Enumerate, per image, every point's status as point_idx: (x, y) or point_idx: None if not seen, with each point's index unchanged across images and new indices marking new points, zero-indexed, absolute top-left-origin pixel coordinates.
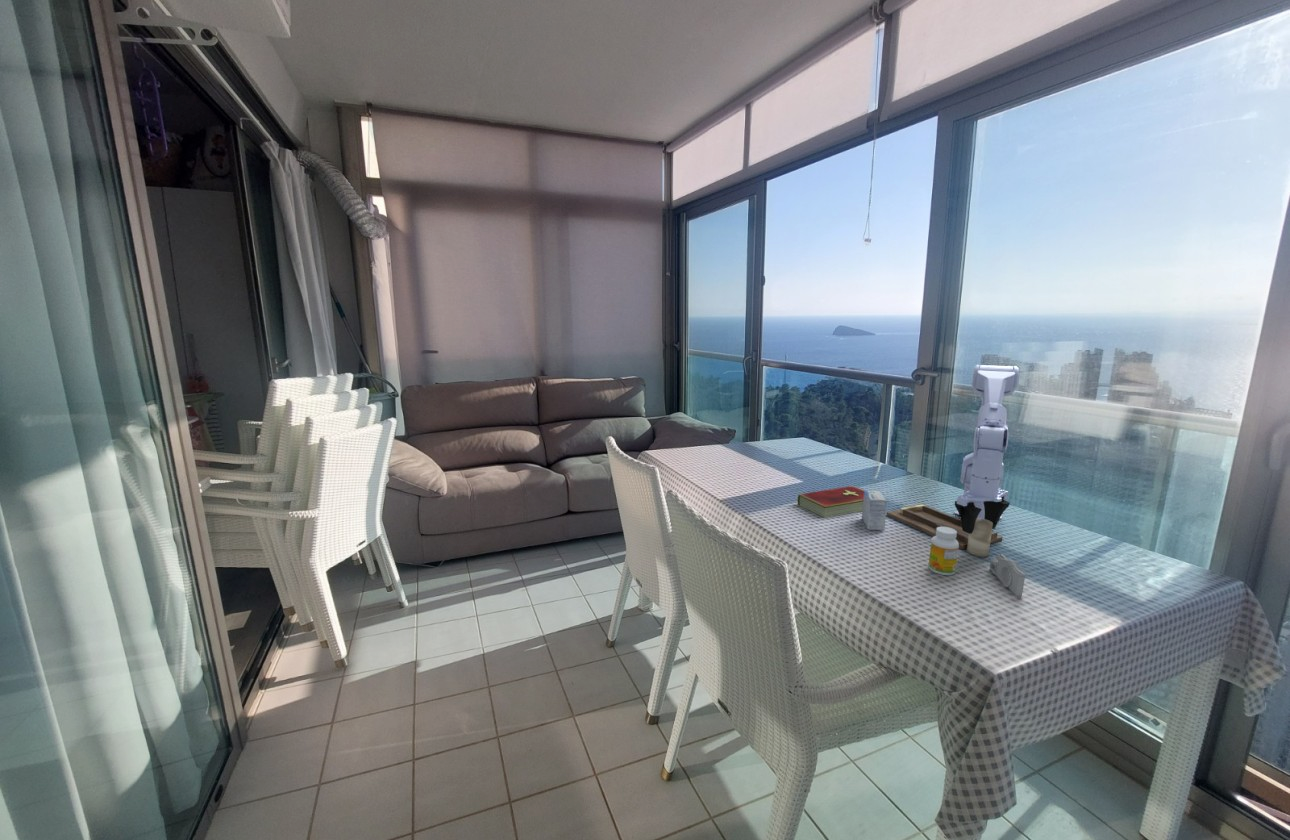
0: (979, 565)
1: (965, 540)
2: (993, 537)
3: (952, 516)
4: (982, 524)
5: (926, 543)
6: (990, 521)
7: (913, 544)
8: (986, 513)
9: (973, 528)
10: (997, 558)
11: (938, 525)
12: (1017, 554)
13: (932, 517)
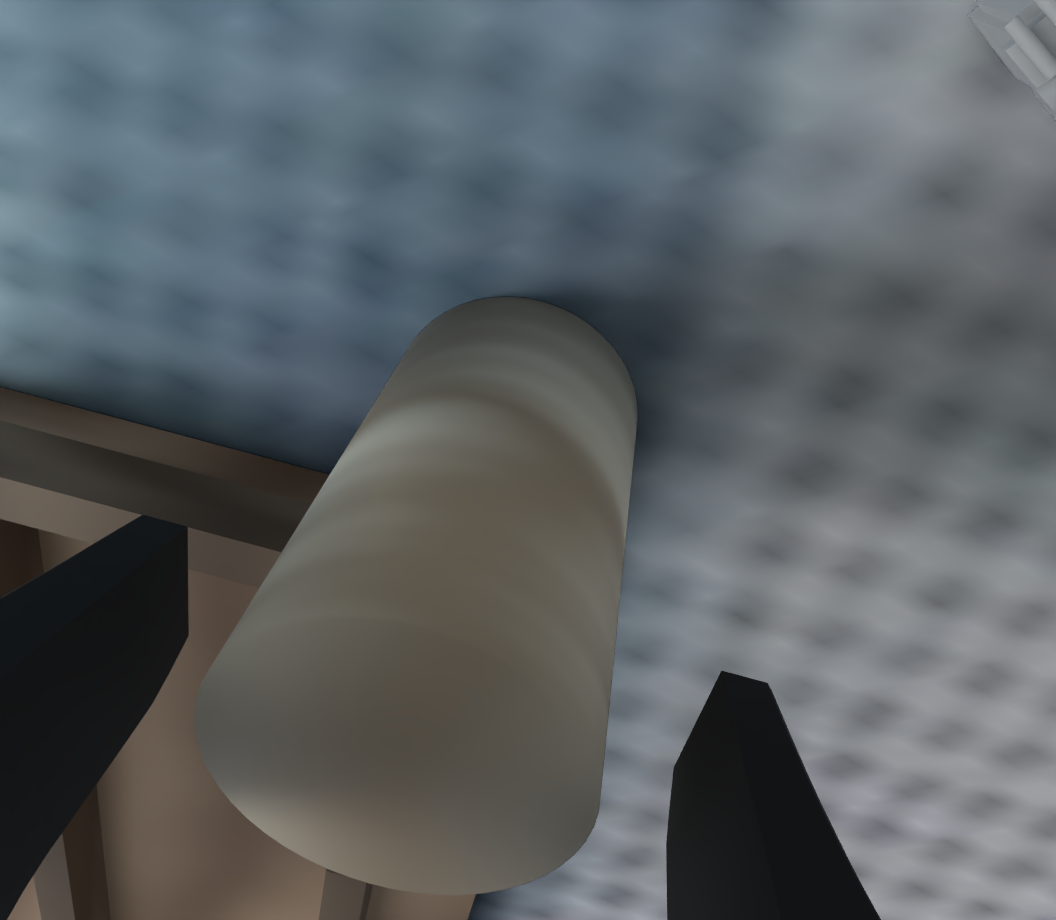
0: (951, 238)
1: None
2: (26, 443)
3: None
4: (557, 730)
5: None
6: (214, 679)
7: (877, 840)
8: (32, 847)
9: (755, 748)
10: (1038, 33)
11: None
12: (81, 62)
13: (162, 904)
